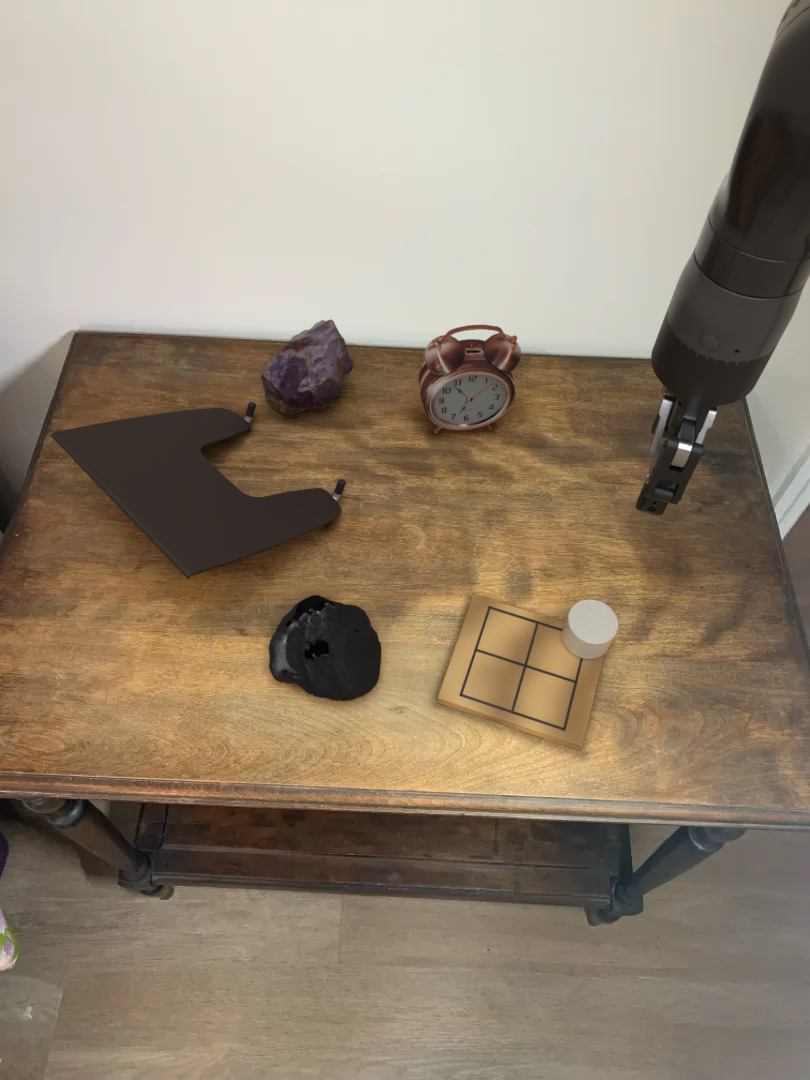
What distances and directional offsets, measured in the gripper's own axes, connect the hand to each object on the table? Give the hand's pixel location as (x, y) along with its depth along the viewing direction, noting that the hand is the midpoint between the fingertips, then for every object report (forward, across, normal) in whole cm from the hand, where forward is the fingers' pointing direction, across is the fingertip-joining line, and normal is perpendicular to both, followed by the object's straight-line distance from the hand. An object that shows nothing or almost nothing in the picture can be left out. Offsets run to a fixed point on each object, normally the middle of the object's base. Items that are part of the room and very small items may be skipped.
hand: (656, 470), depth 68 cm
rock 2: (+20, -16, +24) cm, 35 cm away
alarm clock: (+20, +18, +20) cm, 34 cm away
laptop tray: (+20, -3, +42) cm, 46 cm away
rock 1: (+20, +16, +38) cm, 46 cm away
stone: (+19, -6, +1) cm, 20 cm away
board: (+20, -11, +6) cm, 24 cm away
